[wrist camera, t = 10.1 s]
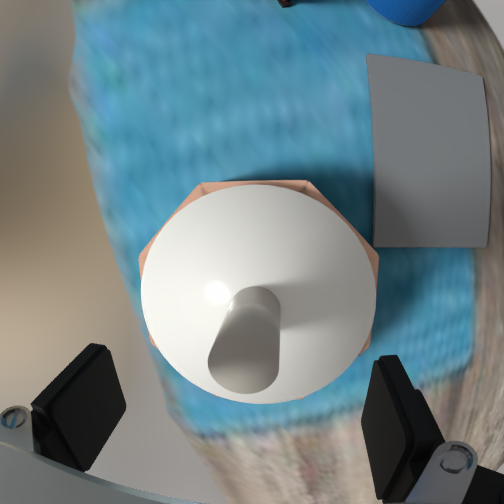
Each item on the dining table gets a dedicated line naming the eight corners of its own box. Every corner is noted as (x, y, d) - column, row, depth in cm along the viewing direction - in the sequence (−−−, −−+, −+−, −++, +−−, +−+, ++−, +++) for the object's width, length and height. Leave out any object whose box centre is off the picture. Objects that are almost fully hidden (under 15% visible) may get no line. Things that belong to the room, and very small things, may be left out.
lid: (136, 190, 18) (70, 199, 12) (378, 185, 17) (429, 190, 10) (162, 388, 22) (128, 450, 15) (358, 394, 20) (377, 463, 14)
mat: (365, 56, 20) (367, 53, 19) (478, 78, 19) (482, 76, 18) (371, 245, 23) (373, 247, 23) (482, 246, 22) (486, 247, 21)
